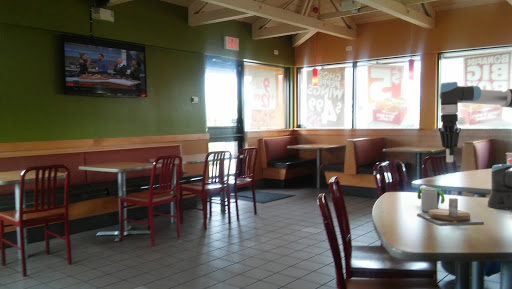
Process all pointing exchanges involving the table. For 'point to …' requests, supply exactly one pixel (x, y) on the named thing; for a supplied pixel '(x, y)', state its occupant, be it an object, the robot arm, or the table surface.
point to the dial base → (443, 222)
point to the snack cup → (437, 195)
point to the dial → (450, 212)
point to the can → (428, 199)
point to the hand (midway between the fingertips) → (449, 161)
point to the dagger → (424, 187)
